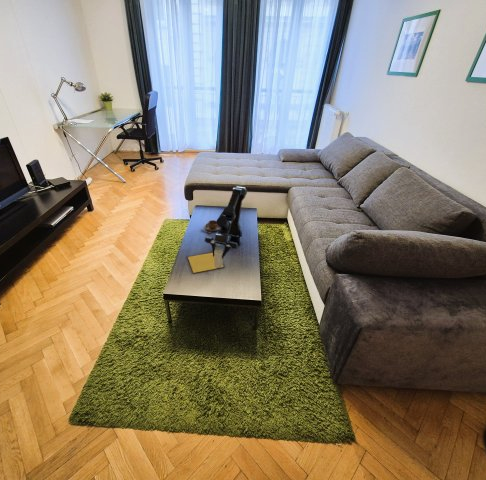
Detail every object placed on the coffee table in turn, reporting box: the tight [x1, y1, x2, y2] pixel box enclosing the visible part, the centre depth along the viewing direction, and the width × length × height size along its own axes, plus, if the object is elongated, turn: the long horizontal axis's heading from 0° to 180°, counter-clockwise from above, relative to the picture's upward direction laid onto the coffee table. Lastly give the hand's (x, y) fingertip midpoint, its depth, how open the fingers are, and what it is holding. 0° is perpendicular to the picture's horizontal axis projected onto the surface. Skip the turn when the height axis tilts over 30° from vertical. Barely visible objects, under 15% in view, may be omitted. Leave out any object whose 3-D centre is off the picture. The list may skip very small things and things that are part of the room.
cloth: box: [187, 252, 225, 274], centre depth 164 cm, size 19×16×1 cm
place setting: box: [201, 219, 232, 234], centre depth 196 cm, size 18×20×6 cm
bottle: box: [214, 245, 224, 269], centre depth 150 cm, size 5×5×12 cm
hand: (217, 257), depth 149 cm, fingers closed on bottle, 5 cm apart
